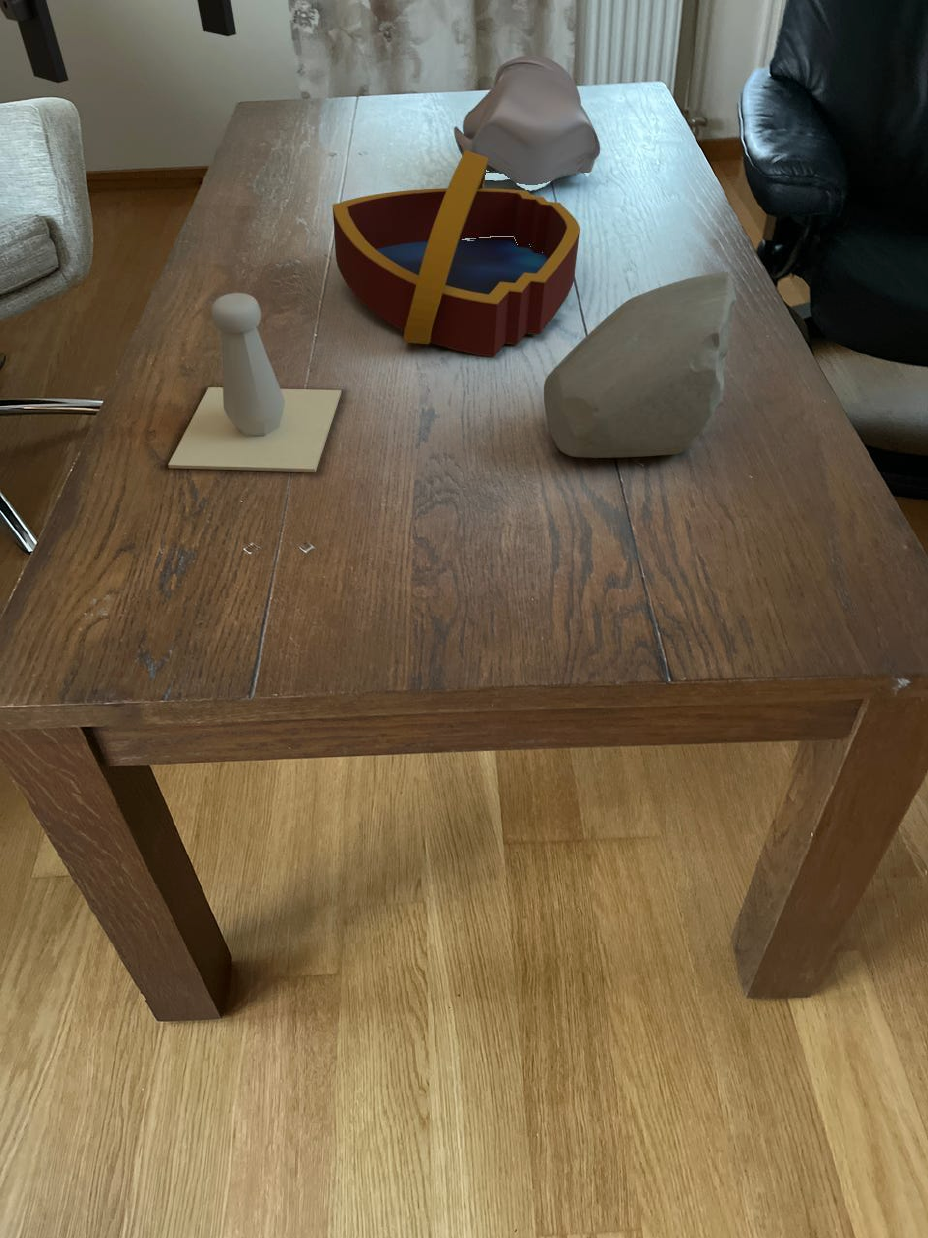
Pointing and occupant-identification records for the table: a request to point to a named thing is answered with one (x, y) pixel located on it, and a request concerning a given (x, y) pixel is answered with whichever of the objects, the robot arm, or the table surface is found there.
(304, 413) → the placemat
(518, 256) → the decorative basket
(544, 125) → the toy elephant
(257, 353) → the salt shaker
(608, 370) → the decorative stone
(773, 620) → the table surface
